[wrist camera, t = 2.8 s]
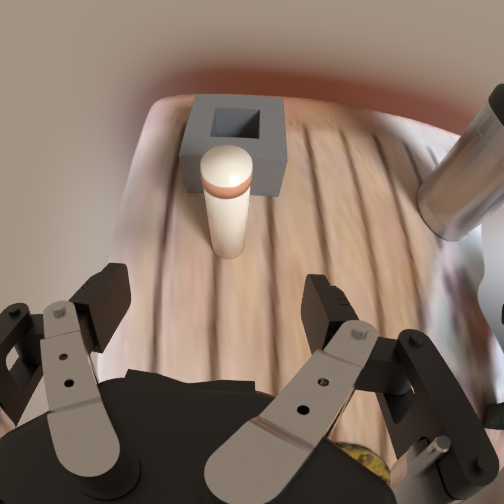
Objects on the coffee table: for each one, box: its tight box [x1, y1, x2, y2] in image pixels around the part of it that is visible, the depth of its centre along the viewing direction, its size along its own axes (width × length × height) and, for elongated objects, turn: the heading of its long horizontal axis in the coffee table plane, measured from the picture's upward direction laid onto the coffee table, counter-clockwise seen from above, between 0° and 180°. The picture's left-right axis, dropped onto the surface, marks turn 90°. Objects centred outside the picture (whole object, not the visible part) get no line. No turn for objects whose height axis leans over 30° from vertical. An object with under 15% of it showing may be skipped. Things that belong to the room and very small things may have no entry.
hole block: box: [178, 94, 287, 197], centre depth 29 cm, size 10×10×6 cm
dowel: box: [200, 145, 253, 259], centre depth 22 cm, size 3×3×12 cm
